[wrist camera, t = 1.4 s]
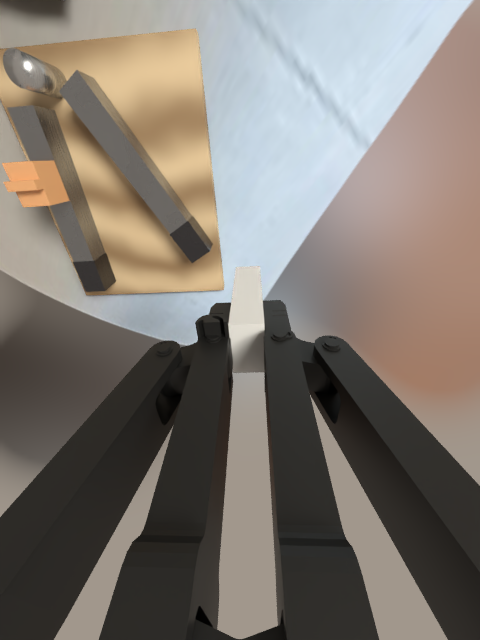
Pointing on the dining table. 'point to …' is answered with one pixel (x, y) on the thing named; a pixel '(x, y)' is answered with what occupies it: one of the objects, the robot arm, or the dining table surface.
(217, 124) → the dining table surface
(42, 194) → the tab
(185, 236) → the bar
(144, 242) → the board
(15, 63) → the tongs fixed
